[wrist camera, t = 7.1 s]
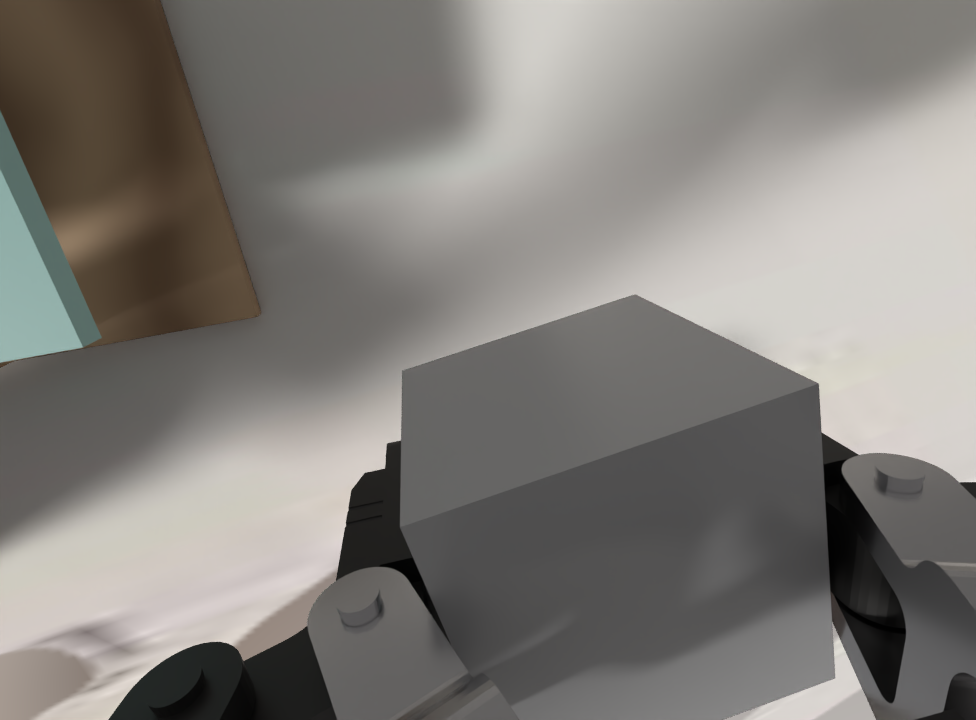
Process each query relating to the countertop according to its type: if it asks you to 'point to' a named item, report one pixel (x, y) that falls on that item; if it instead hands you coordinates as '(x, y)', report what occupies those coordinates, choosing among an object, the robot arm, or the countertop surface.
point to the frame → (121, 165)
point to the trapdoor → (34, 271)
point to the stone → (621, 517)
